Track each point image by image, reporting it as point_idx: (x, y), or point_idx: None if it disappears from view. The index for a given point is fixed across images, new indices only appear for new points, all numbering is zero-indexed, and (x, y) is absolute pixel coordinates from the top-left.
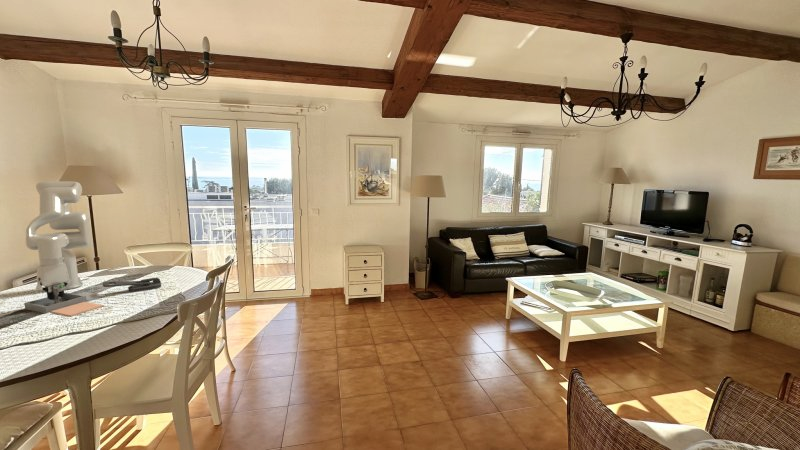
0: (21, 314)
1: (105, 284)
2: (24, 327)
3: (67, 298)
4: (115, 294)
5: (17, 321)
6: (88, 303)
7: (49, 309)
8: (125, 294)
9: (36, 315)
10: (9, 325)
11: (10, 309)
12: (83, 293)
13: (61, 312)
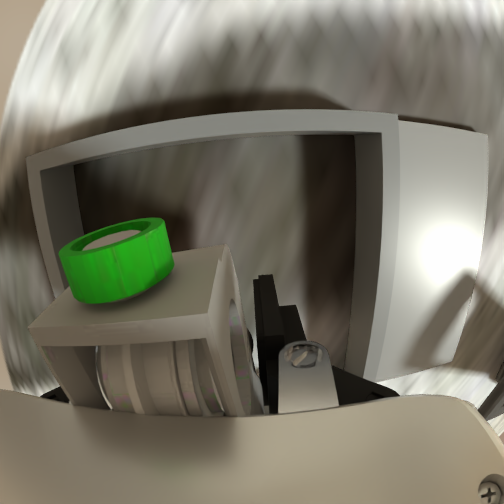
0: (31, 279)
1: (497, 406)
2: None
3: (358, 167)
4: (476, 356)
5: (30, 374)
6: None
7: None
8: (472, 390)
9: None
10: (17, 388)
11: (27, 73)
12: (466, 175)
13: None
